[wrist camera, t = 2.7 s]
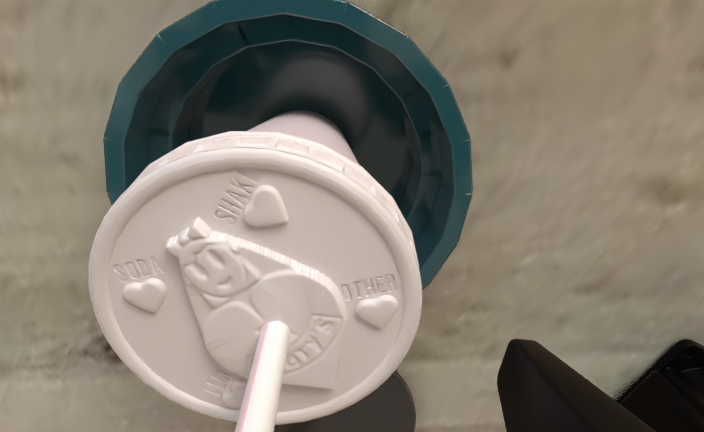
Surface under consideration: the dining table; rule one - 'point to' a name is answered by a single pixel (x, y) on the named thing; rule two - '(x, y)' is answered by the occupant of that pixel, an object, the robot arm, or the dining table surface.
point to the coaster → (367, 413)
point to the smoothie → (258, 275)
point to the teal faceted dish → (303, 102)
